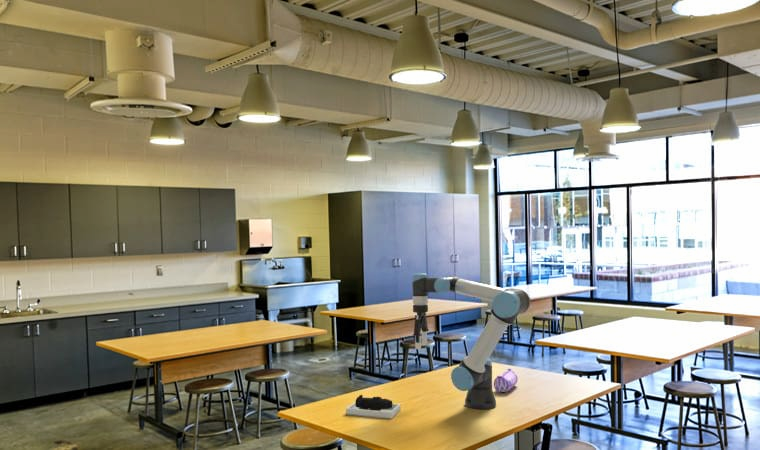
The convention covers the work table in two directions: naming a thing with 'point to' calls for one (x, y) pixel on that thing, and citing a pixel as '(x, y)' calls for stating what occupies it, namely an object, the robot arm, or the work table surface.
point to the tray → (371, 413)
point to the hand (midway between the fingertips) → (421, 346)
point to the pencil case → (505, 381)
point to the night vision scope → (373, 403)
